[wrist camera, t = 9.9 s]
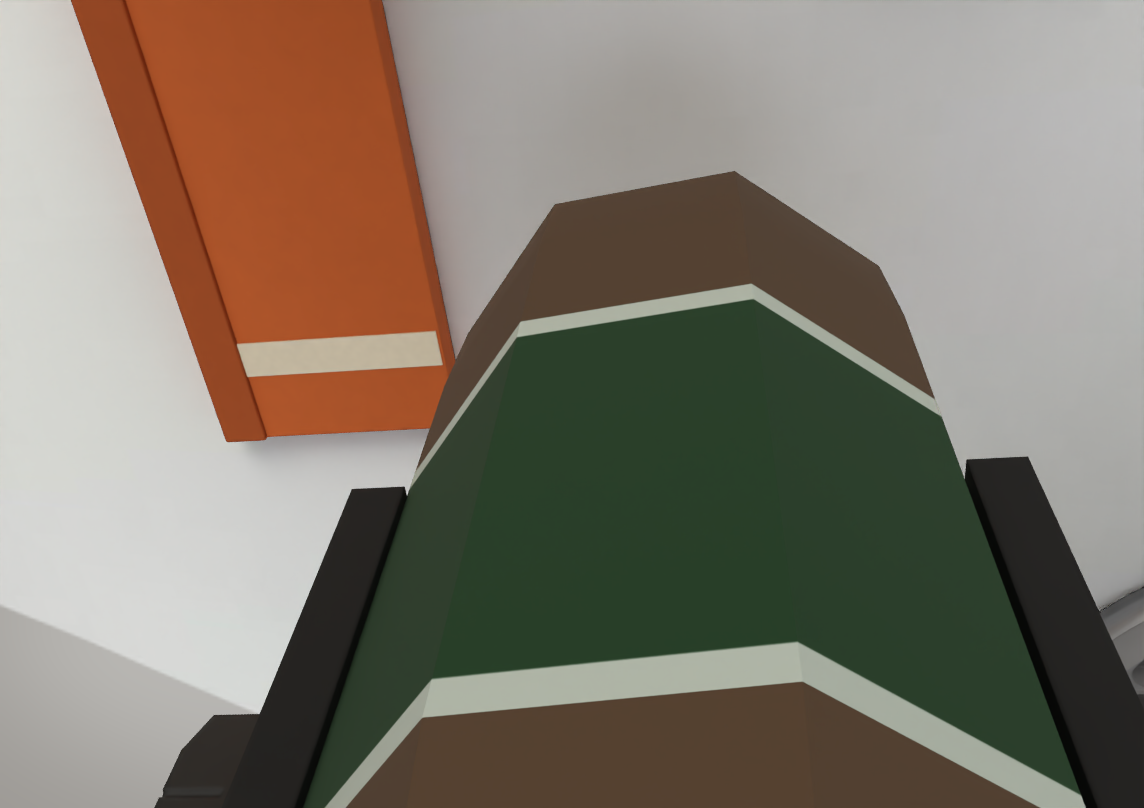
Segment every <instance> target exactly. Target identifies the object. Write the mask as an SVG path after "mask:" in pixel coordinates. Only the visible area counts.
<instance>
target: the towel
mask: <svg viewBox="0 0 1144 808" xmlns="http://www.w3.org/2000/svg"><path fill="white" fill-rule="evenodd" d="M71 2H72V5H73V8H74V10H75V13H76V16H77V19H78V22H79V25H80V27H81V30H82V33H83V36H84V39H85V42H86V45H87V47H88V50H89V53H90V56H91V59H92V62H93V64H94V67H95V70H96V73H97V76H98V79H99V81H100V84H101V87H102V90H103V93H104V96H105V98H106V101H107V104H108V107H109V110H110V113H111V116H112V118H113V121H114V124H115V127H116V130H117V133H118V135H119V138H120V141H121V144H122V147H123V150H124V152H125V155H126V158H127V161H128V164H129V167H130V169H131V172H132V175H133V178H134V181H135V184H136V187H137V189H138V192H139V195H140V198H141V201H142V204H143V206H144V209H145V212H146V215H147V218H148V221H149V223H150V226H151V229H152V232H153V235H154V238H155V240H156V243H157V246H158V249H159V252H160V255H161V257H162V260H163V263H164V266H165V269H166V272H167V275H168V277H169V280H170V283H171V286H172V289H173V292H174V294H175V297H176V300H177V303H178V306H179V309H180V311H181V314H182V317H183V320H184V323H185V326H186V328H187V331H188V334H189V337H190V340H191V343H192V346H193V348H194V351H195V354H196V357H197V360H198V363H199V365H200V368H201V371H202V374H203V377H204V380H205V382H206V385H207V388H208V391H209V394H210V397H211V399H212V402H213V405H214V408H215V411H216V414H217V417H218V419H219V422H220V425H221V428H222V431H223V434H224V436H225V439H226V441H227V442H241V441H260V440H266V438H267V437H274V436H293V435H312V434H331V433H350V432H369V431H388V430H407V429H426V428H430V427H431V424H432V421H433V418H434V415H435V412H436V409H437V406H438V403H439V400H440V397H441V394H442V391H443V388H444V386H445V383H446V381H447V379H448V377H449V375H450V372H451V370H452V368H453V366H454V364H455V357H454V352H453V347H452V342H451V337H450V332H449V327H448V322H447V318H446V313H445V308H444V303H443V298H442V293H441V288H440V283H439V278H438V273H437V268H436V264H435V259H434V254H433V249H432V244H431V239H430V234H429V229H428V224H427V219H426V214H425V210H424V205H423V200H422V195H421V190H420V185H419V180H418V175H417V170H416V165H415V161H414V156H413V151H412V146H411V141H410V136H409V131H408V126H407V121H406V116H405V111H404V107H403V102H402V97H401V92H400V87H399V82H398V77H397V72H396V67H395V62H394V57H393V53H392V48H391V43H390V38H389V33H388V28H387V23H386V18H385V13H384V8H383V3H382V0H71Z"/></svg>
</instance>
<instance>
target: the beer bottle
mask: <svg viewBox="0 0 1144 808" xmlns="http://www.w3.org/2000/svg"><path fill="white" fill-rule="evenodd" d="M303 808H1086V807H1085V805H1084V802H1083V799H1082V796H1081V794H1080V791H1079V788H1078V786H1077V783H1076V780H1075V777H1074V775H1073V772H1072V769H1071V767H1070V764H1069V761H1068V758H1067V756H1066V753H1065V750H1064V748H1063V745H1062V742H1061V739H1060V737H1059V734H1058V731H1057V729H1056V726H1055V723H1054V720H1053V718H1052V715H1051V712H1050V710H1049V707H1048V704H1047V701H1046V699H1045V696H1044V693H1043V691H1042V688H1041V685H1040V682H1039V680H1038V677H1037V674H1036V672H1035V669H1034V666H1033V663H1032V661H1031V658H1030V655H1029V653H1028V650H1027V647H1026V644H1025V642H1024V639H1023V636H1022V634H1021V631H1020V628H1019V626H1018V623H1017V620H1016V617H1015V615H1014V612H1013V609H1012V607H1011V604H1010V601H1009V598H1008V596H1007V593H1006V590H1005V588H1004V585H1003V582H1002V579H1001V577H1000V574H999V571H998V569H997V566H996V563H995V560H994V558H993V555H992V552H991V550H990V547H989V544H988V541H987V539H986V536H985V533H984V531H983V528H982V525H981V522H980V520H979V517H978V514H977V512H976V509H975V506H974V503H973V501H972V498H971V495H970V493H969V490H968V487H967V484H966V482H965V479H964V476H963V474H962V471H961V468H960V465H959V463H958V460H957V457H956V455H955V452H954V449H953V446H952V444H951V441H950V438H949V436H948V433H947V430H946V427H945V425H944V422H943V419H942V417H941V414H940V411H939V408H938V406H937V403H936V400H935V398H934V395H933V392H932V389H931V387H930V384H929V381H928V379H927V376H926V373H925V370H924V368H923V365H922V362H921V360H920V357H919V354H918V351H917V349H916V346H915V343H914V341H913V338H912V335H911V333H910V330H909V327H908V324H907V322H906V319H905V316H904V314H903V312H902V310H901V308H900V306H899V304H898V302H897V300H896V298H895V296H894V294H893V292H892V291H891V289H890V287H889V285H888V283H887V281H886V279H885V277H884V275H883V273H882V271H881V269H880V267H879V266H878V265H876V264H875V263H873V262H872V261H870V260H869V259H867V258H866V257H864V256H863V255H861V254H860V253H858V252H857V251H855V250H854V249H852V248H851V247H849V246H848V245H846V244H845V243H843V242H842V241H840V240H838V239H837V238H835V237H834V236H832V235H831V234H829V233H828V232H826V231H825V230H823V229H822V228H820V227H819V226H817V225H816V224H814V223H813V222H811V221H810V220H808V219H807V218H805V217H804V216H802V215H801V214H799V213H797V212H796V211H794V210H793V209H791V208H790V207H788V206H787V205H785V204H784V203H782V202H781V201H779V200H778V199H776V198H775V197H773V196H772V195H770V194H769V193H767V192H766V191H764V190H763V189H761V188H759V187H758V186H756V185H755V184H753V183H752V182H750V181H749V180H747V179H746V178H744V177H743V176H741V175H740V174H738V173H737V172H735V171H733V172H727V173H722V174H716V175H711V176H706V177H700V178H695V179H689V180H684V181H678V182H673V183H668V184H662V185H657V186H651V187H646V188H640V189H635V190H630V191H624V192H619V193H613V194H608V195H602V196H597V197H592V198H586V199H581V200H575V201H570V202H565V203H559V204H555V205H554V206H553V208H552V209H551V211H550V212H549V214H548V215H547V217H546V218H545V220H544V221H543V223H542V224H541V226H540V227H539V229H538V230H537V232H536V233H535V235H534V236H533V238H532V239H531V241H530V242H529V244H528V245H527V247H526V248H525V250H524V251H523V252H522V254H521V255H520V257H519V258H518V260H517V261H516V263H515V264H514V266H513V267H512V269H511V270H510V272H509V273H508V275H507V276H506V278H505V279H504V281H503V282H502V284H501V285H500V287H499V288H498V290H497V291H496V293H495V294H494V296H493V297H492V299H491V300H490V302H489V303H488V305H487V306H486V308H485V309H484V311H483V312H482V314H481V315H480V317H479V318H478V320H477V321H476V323H475V324H474V326H473V327H472V328H471V330H470V331H469V333H468V335H467V337H466V339H465V342H464V344H463V346H462V348H461V350H460V353H459V355H458V357H457V359H456V361H455V364H454V366H453V368H452V370H451V372H450V375H449V377H448V379H447V381H446V383H445V386H444V388H443V391H442V394H441V397H440V400H439V403H438V406H437V409H436V412H435V415H434V418H433V421H432V424H431V427H430V430H429V433H428V436H427V439H426V442H425V445H424V448H423V451H422V454H421V457H420V460H419V463H418V466H417V469H416V472H415V475H414V478H413V481H412V484H411V487H410V490H409V492H408V495H407V499H406V502H405V505H404V508H403V511H402V514H401V517H400V520H399V523H398V526H397V529H396V532H395V535H394V538H393V541H392V544H391V547H390V550H389V553H388V556H387V559H386V562H385V565H384V568H383V571H382V574H381V577H380V580H379V583H378V586H377V589H376V592H375V595H374V598H373V601H372V604H371V607H370V610H369V613H368V615H367V618H366V621H365V624H364V627H363V630H362V633H361V636H360V639H359V642H358V645H357V648H356V651H355V654H354V657H353V660H352V663H351V666H350V669H349V672H348V675H347V678H346V681H345V684H344V687H343V690H342V693H341V696H340V699H339V702H338V705H337V708H336V711H335V714H334V717H333V720H332V723H331V726H330V729H329V732H328V735H327V738H326V740H325V743H324V746H323V749H322V752H321V755H320V758H319V761H318V764H317V767H316V770H315V773H314V776H313V779H312V782H311V785H310V788H309V791H308V794H307V797H306V800H305V803H304V806H303Z"/></svg>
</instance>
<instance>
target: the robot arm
mask: <svg viewBox="0 0 1144 808" xmlns="http://www.w3.org/2000/svg"><path fill="white" fill-rule="evenodd" d="M965 482H966V484H967V487H968V490H969V493H970V495H971V498H972V501H973V503H974V506H975V509H976V512H977V514H978V517H979V520H980V522H981V525H982V528H983V531H984V533H985V536H986V539H987V541H988V544H989V547H990V550H991V552H992V555H993V558H994V560H995V563H996V566H997V569H998V571H999V574H1000V577H1001V579H1002V582H1003V585H1004V588H1005V590H1006V593H1007V596H1008V598H1009V601H1010V604H1011V607H1012V609H1013V612H1014V615H1015V617H1016V620H1017V623H1018V626H1019V628H1020V631H1021V634H1022V636H1023V639H1024V642H1025V644H1026V647H1027V650H1028V653H1029V655H1030V658H1031V661H1032V663H1033V666H1034V669H1035V672H1036V674H1037V677H1038V680H1039V682H1040V685H1041V688H1042V691H1043V693H1044V696H1045V699H1046V701H1047V704H1048V707H1049V710H1050V712H1051V715H1052V718H1053V720H1054V723H1055V726H1056V729H1057V731H1058V734H1059V737H1060V739H1061V742H1062V745H1063V748H1064V750H1065V753H1066V756H1067V758H1068V761H1069V764H1070V767H1071V769H1072V772H1073V775H1074V777H1075V780H1076V783H1077V786H1078V788H1079V791H1080V794H1081V796H1082V799H1083V802H1084V805H1085V807H1086V808H1144V588H1142V589H1140V590H1138V591H1136V592H1133V593H1131V594H1129V595H1128V596H1126V597H1124V598H1122V599H1121V600H1119V601H1117V602H1116V603H1114V604H1112V605H1111V606H1109V607H1108V608H1106V609H1105V610H1103V611H1102V612H1100V613H1099V610H1098V608H1097V606H1096V604H1095V602H1094V600H1093V597H1092V595H1091V593H1090V591H1089V589H1088V586H1087V584H1086V582H1085V580H1084V578H1083V576H1082V573H1081V571H1080V569H1079V567H1078V565H1077V563H1076V560H1075V558H1074V556H1073V554H1072V552H1071V550H1070V547H1069V545H1068V543H1067V541H1066V539H1065V536H1064V534H1063V532H1062V530H1061V528H1060V526H1059V523H1058V521H1057V519H1056V517H1055V515H1054V513H1053V510H1052V508H1051V506H1050V504H1049V502H1048V499H1047V497H1046V495H1045V493H1044V491H1043V489H1042V486H1041V484H1040V482H1039V480H1038V478H1037V476H1036V473H1035V471H1034V469H1033V467H1032V465H1031V462H1030V460H1029V458H1028V457H1010V458H989V459H968V460H967V461H966V472H965ZM406 499H407V495H406V491H405V487H388V488H367V489H352V490H351V493H350V495H349V498H348V500H347V502H346V505H345V507H344V510H343V512H342V515H341V517H340V520H339V522H338V524H337V527H336V529H335V532H334V534H333V537H332V539H331V541H330V544H329V546H328V549H327V551H326V554H325V556H324V559H323V561H322V563H321V566H320V568H319V571H318V573H317V576H316V578H315V581H314V583H313V585H312V588H311V590H310V593H309V595H308V598H307V600H306V603H305V605H304V607H303V610H302V612H301V615H300V617H299V620H298V622H297V624H296V627H295V629H294V632H293V634H292V637H291V639H290V642H289V644H288V646H287V649H286V651H285V654H284V656H283V659H282V661H281V664H280V666H279V668H278V671H277V673H276V676H275V678H274V681H273V683H272V686H271V688H270V690H269V693H268V695H267V698H266V700H265V703H264V705H263V707H262V710H261V712H260V714H247V715H246V714H244V715H214V716H213V717H212V718H211V719H210V720H209V721H208V722H207V723H206V724H205V725H204V726H203V727H202V729H201V730H200V731H199V732H198V733H197V734H196V735H195V736H194V737H193V738H192V739H191V740H190V741H189V743H188V744H187V745H186V746H185V747H184V748H183V749H182V750H181V752H180V754H179V757H178V759H177V761H176V763H175V765H174V767H173V769H172V772H171V773H170V776H169V778H168V780H167V782H166V784H165V786H164V788H163V797H161V798H159V799H158V801H157V803H156V805H155V808H303V806H304V803H305V800H306V797H307V794H308V791H309V788H310V785H311V782H312V779H313V776H314V773H315V770H316V767H317V764H318V761H319V758H320V755H321V752H322V749H323V746H324V743H325V740H326V738H327V735H328V732H329V729H330V726H331V723H332V720H333V717H334V714H335V711H336V708H337V705H338V702H339V699H340V696H341V693H342V690H343V687H344V684H345V681H346V678H347V675H348V672H349V669H350V666H351V663H352V660H353V657H354V654H355V651H356V648H357V645H358V642H359V639H360V636H361V633H362V630H363V627H364V624H365V621H366V618H367V615H368V613H369V610H370V607H371V604H372V601H373V598H374V595H375V592H376V589H377V586H378V583H379V580H380V577H381V574H382V571H383V568H384V565H385V562H386V559H387V556H388V553H389V550H390V547H391V544H392V541H393V538H394V535H395V532H396V529H397V526H398V523H399V520H400V517H401V514H402V511H403V508H404V505H405V502H406Z"/></svg>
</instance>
